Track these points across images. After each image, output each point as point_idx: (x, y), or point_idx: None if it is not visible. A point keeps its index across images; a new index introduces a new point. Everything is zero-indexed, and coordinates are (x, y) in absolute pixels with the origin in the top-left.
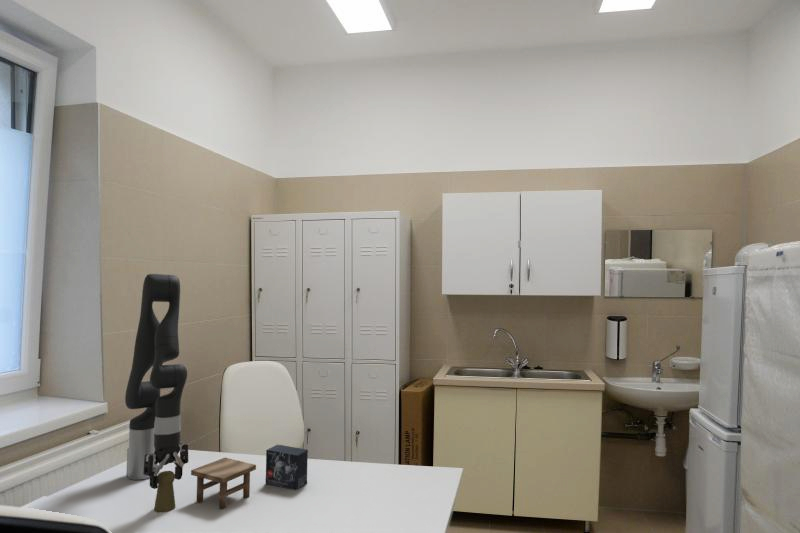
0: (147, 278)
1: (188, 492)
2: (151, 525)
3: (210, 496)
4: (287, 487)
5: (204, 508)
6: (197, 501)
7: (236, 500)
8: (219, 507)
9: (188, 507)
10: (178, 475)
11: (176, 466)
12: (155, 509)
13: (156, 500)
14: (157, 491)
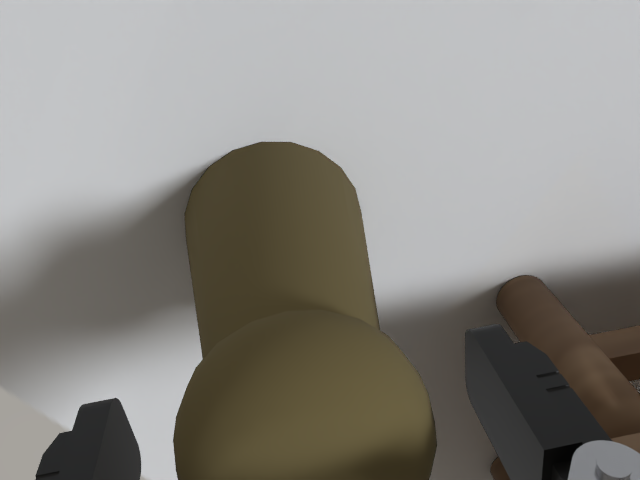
0: None
1: (622, 58)
2: (62, 411)
3: (625, 274)
4: None
5: (449, 408)
6: (498, 307)
7: None
8: (495, 470)
9: (399, 331)
10: (487, 414)
11: (556, 471)
12: (186, 234)
13: (192, 268)
14: (201, 313)
